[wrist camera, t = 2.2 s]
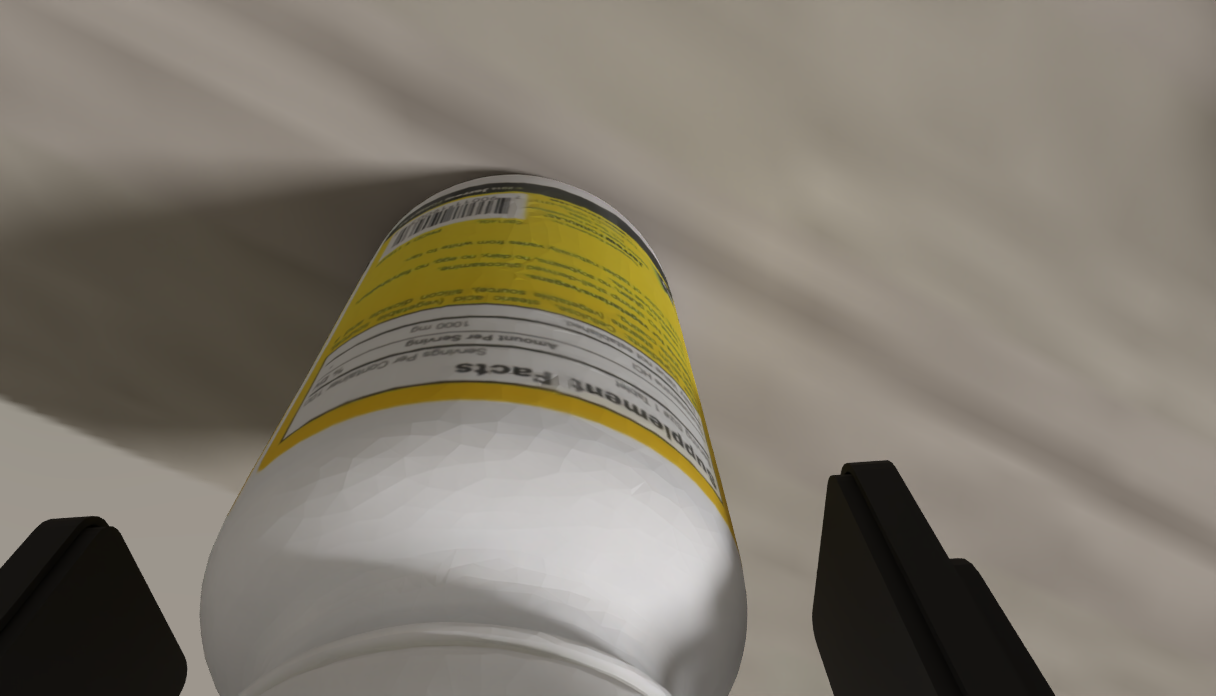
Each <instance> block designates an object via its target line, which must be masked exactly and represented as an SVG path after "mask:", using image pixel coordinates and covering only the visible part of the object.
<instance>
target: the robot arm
mask: <svg viewBox="0 0 1216 696" xmlns="http://www.w3.org/2000/svg"><path fill="white" fill-rule="evenodd" d="M812 622H813V631H814V636H815V640H816V643H817V646H818V649H819V652H820V655H821V658H822V661H823V664H824V667H825V670H826V673H827V676H828V679H829V682H830V685H831V688H832V691H833V694H834V696H1055V694H1054V693H1053V691H1052V689H1051V688H1050V686H1049V685H1048V683H1047V681H1046V680H1045V678H1044V677H1043V675H1042V673H1041V672H1040V670H1039V668H1038V667H1037V665H1036V664H1035V662H1034V660H1033V659H1032V657H1031V656H1030V654H1029V652H1028V651H1027V649H1026V647H1025V646H1024V644H1023V643H1022V641H1021V639H1020V638H1019V636H1018V635H1017V633H1016V631H1015V630H1014V628H1013V627H1012V625H1011V623H1010V622H1009V620H1008V618H1007V617H1006V615H1005V614H1004V612H1003V610H1002V609H1001V607H1000V606H999V604H998V602H997V601H996V599H995V598H994V596H993V594H992V593H991V591H990V589H989V588H988V586H987V585H986V583H985V581H984V580H983V578H982V577H981V575H980V574H979V572H978V571H977V570H976V568H975V567H974V566H973V564H971V563H970V562H968V561H967V560H966V559H962V558H955V559H949V557H948V556H947V554H946V552H945V551H944V549H943V547H942V546H941V544H940V542H939V540H938V539H937V537H936V535H935V534H934V532H933V530H932V529H931V527H930V525H929V523H928V522H927V520H926V518H925V517H924V515H923V513H922V512H921V510H920V508H919V506H918V505H917V503H916V501H915V500H914V498H913V496H912V494H911V493H910V491H909V489H908V488H907V486H906V484H905V483H904V481H903V479H902V477H901V476H900V474H899V472H898V471H897V469H896V467H895V466H894V465H893V463H892V462H890V461H888V460H884V461H870V462H856V463H846V464H844V466H843V467H842V471H841V475H832V476H830V477H829V480H828V485H827V494H826V502H825V510H824V519H823V527H822V536H821V544H820V553H819V561H818V569H817V578H816V586H815V595H814V603H813V612H812ZM186 676H187V662H186V659H185V656H184V654H183V653H182V651H181V649H180V647H179V645H178V643H177V641H176V639H175V637H174V635H173V633H172V631H171V629H170V627H169V626H168V624H167V622H166V620H165V618H164V616H163V614H162V612H161V610H160V608H159V606H158V605H157V603H156V601H155V599H154V597H153V595H152V593H151V591H150V589H149V587H148V585H147V584H146V581H145V579H144V577H143V576H142V574H141V572H140V570H139V568H138V566H137V564H136V562H135V561H134V558H133V557H132V554H131V553H130V551H129V549H128V547H127V545H126V543H125V542H124V539H123V537H122V535H121V533H120V532H119V531H118V530H117V529H116V528H114V527H111V526H109V525H108V524H107V523H106V521H105V520H104V519H102V518H100V517H97V516H89V517H73V518H59V519H50V520H47V521H44V522H42V523H41V524H40V525H39V526H38V527H37V528H36V529H35V530H34V531H33V532H32V533H31V534H30V535H29V537H28V538H27V539H26V540H25V541H24V542H23V543H22V545H21V546H20V547H19V548H18V549H17V550H16V551H15V552H14V554H13V555H12V556H11V557H10V558H9V559H8V560H7V561H6V563H5V564H4V565H3V566H2V567H1V568H0V696H179V695H180V693H181V691H182V689H183V687H184V684H185V681H186Z"/></svg>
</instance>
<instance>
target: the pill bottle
mask: <svg viewBox="0 0 1216 696" xmlns="http://www.w3.org/2000/svg"><path fill="white" fill-rule="evenodd" d="M200 626H201V636H202V643H203V649H204V654H205V659H206V662H207V665H208V668H209V670H210V673H211V676H212V679H213V681H214V684H215V687H216V689H217V691H218V693H219V695H220V696H728V695H729V692H730V690H731V688H732V686H733V683H734V681H735V679H736V676H737V674H738V671H739V667H740V663H741V660H742V656H743V651H744V646H745V640H746V630H747V599H746V589H745V583H744V576H743V570H742V564H741V559H740V554H739V550H738V546H737V542H736V538H735V534H734V530H733V526H732V522H731V518H730V514H729V511H728V507H727V503H726V499H725V495H724V491H723V487H722V483H721V479H720V475H719V472H718V468H717V464H716V460H715V457H714V452H713V449H712V445H711V441H710V438H709V434H708V430H707V426H706V422H705V418H704V414H703V411H702V407H701V403H700V399H699V395H698V392H697V388H696V384H695V381H694V377H693V373H692V369H691V366H690V362H689V358H688V354H687V350H686V347H685V343H684V339H683V335H682V331H681V328H680V324H679V320H678V317H677V313H676V309H675V305H674V301H673V298H672V295H671V292H670V289H669V286H668V283H667V280H666V277H665V274H664V272H663V269H662V267H661V265H660V263H659V261H658V259H657V257H656V255H655V254H654V252H653V251H652V249H651V247H650V246H649V245H648V243H647V242H646V241H645V239H644V238H643V236H642V235H641V234H640V232H639V231H638V230H637V229H636V228H635V227H634V226H633V225H632V224H631V223H630V222H629V221H628V220H627V219H626V218H625V217H624V216H623V215H621V214H620V213H619V212H618V211H617V210H616V209H614V208H613V207H611V206H610V205H609V204H607V203H606V202H604V201H603V200H601V199H599V198H598V197H596V196H594V195H592V194H590V193H589V192H587V191H584V190H582V189H579V188H577V187H574V186H572V185H569V184H566V183H563V182H560V181H556V180H553V179H548V178H543V177H538V176H531V175H520V174H516V175H498V176H488V177H483V178H478V179H474V180H470V181H467V182H463V183H460V184H457V185H455V186H452V187H450V188H447V189H445V190H443V191H441V192H439V193H437V194H435V195H433V196H431V197H430V198H428V199H427V200H425V201H424V202H422V203H421V204H419V205H418V206H416V207H415V208H413V209H412V210H411V211H410V212H409V213H408V214H406V215H405V216H404V217H403V218H402V219H401V220H400V221H399V222H398V223H397V224H396V225H395V227H394V228H393V229H392V230H391V231H390V233H389V234H388V235H387V236H386V238H385V239H384V241H383V242H382V244H381V245H380V247H379V249H378V250H377V252H376V254H375V255H374V257H373V259H372V260H371V261H370V262H369V264H368V265H367V268H366V270H365V272H364V274H363V275H362V277H361V278H360V280H359V282H358V284H357V286H356V288H355V290H354V291H353V293H352V295H351V297H350V299H349V300H348V302H347V304H346V306H345V307H344V309H343V311H342V313H341V314H340V316H339V318H338V320H337V322H336V324H335V325H334V327H333V329H332V331H331V333H330V335H329V336H328V338H327V340H326V342H325V344H324V346H323V347H322V349H321V351H320V353H319V355H318V356H317V358H316V360H315V362H314V364H313V365H312V367H311V369H310V371H309V373H308V374H307V376H306V378H305V380H304V382H303V383H302V385H301V387H300V389H299V390H298V392H297V394H296V395H295V397H294V399H293V400H292V402H291V404H290V406H289V407H288V409H287V411H286V412H285V414H284V416H283V418H282V419H281V421H280V423H279V425H278V426H277V428H276V430H275V431H274V433H273V435H272V437H271V438H270V440H269V442H268V444H267V445H266V447H265V449H264V450H263V452H262V454H261V456H260V457H259V459H258V461H257V463H256V464H255V466H254V468H253V469H252V471H251V473H250V475H249V477H248V478H247V480H246V482H245V484H244V486H243V488H242V489H241V491H240V493H239V495H238V497H237V498H236V500H235V502H234V504H233V506H232V508H231V509H230V511H229V513H228V515H227V517H226V519H225V521H224V523H223V526H222V528H221V530H220V532H219V535H218V537H217V539H216V541H215V543H214V545H213V548H212V550H211V553H210V556H209V559H208V563H207V567H206V571H205V574H204V579H203V583H202V591H201V603H200Z"/></svg>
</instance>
